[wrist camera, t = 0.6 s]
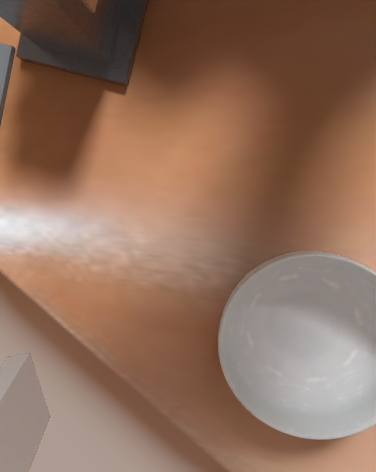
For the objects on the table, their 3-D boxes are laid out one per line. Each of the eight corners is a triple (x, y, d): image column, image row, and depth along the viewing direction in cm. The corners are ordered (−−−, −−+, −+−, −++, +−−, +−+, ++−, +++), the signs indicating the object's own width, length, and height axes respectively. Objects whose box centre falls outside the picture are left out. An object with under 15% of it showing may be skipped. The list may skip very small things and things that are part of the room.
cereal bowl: (187, 310, 39) (178, 334, 32) (309, 209, 36) (328, 211, 29) (290, 428, 39) (303, 478, 32) (419, 335, 36) (464, 367, 29)
